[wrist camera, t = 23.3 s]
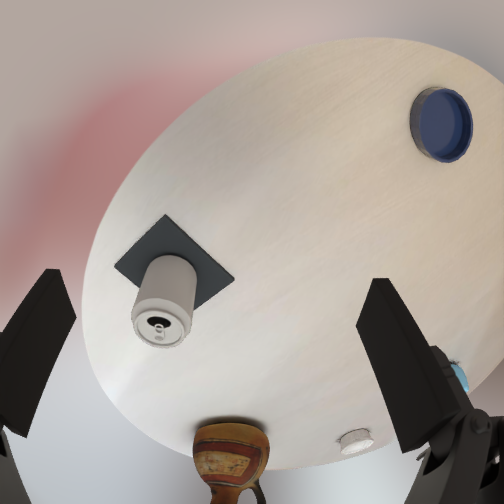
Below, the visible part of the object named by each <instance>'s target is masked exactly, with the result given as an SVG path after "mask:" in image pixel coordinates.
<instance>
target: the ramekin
mask: <svg viewBox="0 0 504 504" xmlns="http://www.w3.org/2000/svg"><path fill="white" fill-rule="evenodd" d="M373 442H374V440H373V439H372V438H371V436H370V434H369V432H368V431H367V430H365V429H359V430H355V431H352V432H350V433H348V434H346V435H344V436H343V437H342V438H341V441H340V443H341V453H342V454H352V453H356V452H359V451H361V450H364V449H366V448H367V447H369V446H370V445H372V444H373Z"/></svg>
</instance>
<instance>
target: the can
mask: <svg viewBox="0 0 504 504" xmlns="http://www.w3.org/2000/svg"><path fill="white" fill-rule="evenodd" d="M196 284H197V276H196V272H195V270H194V268H193V267H192V266H191V265H190V264H189V263H188V262H187V261H186V260H184V259H182V258H180V257H177V256H172V255H167V256H161V257H158V258H156V259H155V260H153V261H152V262H151V263H150V265H149V266H148V268H147V271H146V273H145V276H144V279H143V281H142V284H141V287H140V289H139V292H138V295H137V298H136V301H135V303H134V306H133V309H132V313H131V320H132V323H133V328H134V331H135V333H136V335H137V336H138V337H139V339H141V340H142V341H143V342H145V343H146V344H148V345H150V346H153V347H157V348H171V347H175V346H177V345H179V344H180V343H181V342H182V341H183V340H184V338H186V336H187V335H188V334H189V333H190V330H191V326H192V317H193V308H194V300H195V292H196Z"/></svg>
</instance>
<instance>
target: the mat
mask: <svg viewBox="0 0 504 504" xmlns="http://www.w3.org/2000/svg"><path fill="white" fill-rule="evenodd" d="M167 255H172V256H177V257H180V258H182V259H184V260H186V261H187V262H188V263H189V264H190V265H191V266H192V267H193V268H194V270H195V272H196V276H197V284H196V292H195V300H194V308H193V311H194V310H195V309H196V308H198V307H199V306H200V305H202V304H203V303H205V302H206V301H207V300H209V299H210V298H211V297H213V296H214V295H215V294H217V293H218V292H220V291H221V290H222V289H224V288H225V287H226V286H228V285H229V284H230V283H232V282H233V281H234V277H232V276H231V275H230V274H229V273H228V272H227V271H226V270H225V269H224V268H223V267H221V266H220V265H219V264H218V263H217V262H216V261H215V260H214V259H213V258H212V257H211V256H209V255H208V254H207V253H206V252H205V251H204V250H203V249H202V248H201V247H200V246H199V245H198V244H196V243H195V242H194V241H193V240H192V239H191V238H190V237H189V236H188V235H187V234H186V233H185V232H184V231H183V230H182V229H180V228H179V227H178V226H177V225H176V224H175V223H174V222H173V221H172V220H171V219H170V218H169V217H168V216H167V215H166V214H165V215H164V216H163V217H162V218H161V219H160V220H159V221H158V222H157V223H156V224H155V225H154V226H153V227H152V228H151V229H150V230H149V231H148V232H147V233H146V234H145V235H144V236H143V237H142V238H141V239H140V240H139V241H138V242H137V243H136V244H135V245H134V246H133V247H132V248H131V249H130V250H129V251H128V252H127V253H126V254H125V255H124V256H123V257H122V258H121V259H120V260H119V261H118V262H117V263H116V264H115V266H114V267H115V268H116V269H117V270H118V271H119V272H121V273H122V274H123V275H124V276H125V277H126V278H128V279H129V280H130V281H131V282H132V283H134V284H135V285H136V286H137V287H139V288H140V287H141V284H142V281H143V279H144V276H145V273H146V271H147V268H148V266H149V265H150V263H151V262H152V261H153V260H155V259H156V258H158V257H161V256H167Z"/></svg>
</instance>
